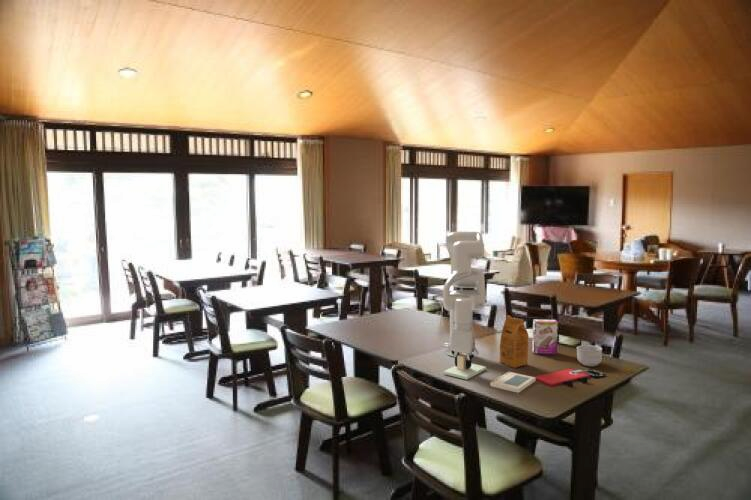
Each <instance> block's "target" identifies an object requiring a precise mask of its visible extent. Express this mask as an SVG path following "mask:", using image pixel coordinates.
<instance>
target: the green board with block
mask: <svg viewBox="0 0 751 500" xmlns="http://www.w3.org/2000/svg"><path fill="white" fill-rule="evenodd" d="M466 360H467V355H466V354H464V353H462V354H460V355H458V356H457V367H456V366H455V365H453V366H451V367H449V368H447V369H445V370H443V375H446V376H450V377H455V378H459V379H462V380H468V379H471V378H473V377H474V376H476V375H478V374H480V373H482V372H484V371H486V369H487V366H486V365H485V366H484V365H481V364H476V363H472V362H471V368H469V369H466Z"/></svg>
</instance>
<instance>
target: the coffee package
mask: <svg viewBox="0 0 751 500" xmlns="http://www.w3.org/2000/svg"><path fill="white" fill-rule="evenodd" d="M525 323H526V321H525V319H524V318H523V319H522V318H513V317H512V316H511V315H509V314H507V315H506V318H505V320H504V323H503V326H502V329H501V334H500V344H499V363H502V364H504V365H505V366H507V367H510V368H514V369H515V368H519V367H522V366H527V365H528V363H529V362H528V353H529V333H528V330H527V328H526V325H525Z"/></svg>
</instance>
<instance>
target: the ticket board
mask: <svg viewBox="0 0 751 500" xmlns="http://www.w3.org/2000/svg"><path fill="white" fill-rule="evenodd" d="M535 382H537V380H536V378H535V377H533V376H529V375H525V374H523V373H522V374H521V373H517V372H513V371H507V372H506V373H504V374H502V375H500V376H498V377H497V378H496V379H494V380H493V381H491V382H490V387H493V388H497V389H500V390H504V391H509V392H513V393H517V394H519V393H520V392H522V391H523V390H525V389H526V388H528V387H529V386H530V385H531V384H533V383H535Z"/></svg>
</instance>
